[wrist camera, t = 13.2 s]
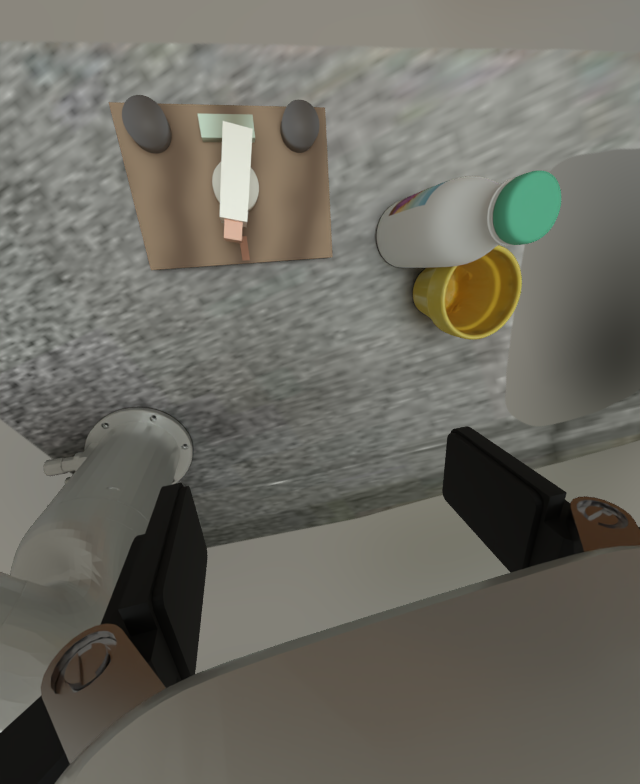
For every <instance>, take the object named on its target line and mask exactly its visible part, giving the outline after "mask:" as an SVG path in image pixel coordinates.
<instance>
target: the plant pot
mask: <svg viewBox="0 0 640 784" xmlns="http://www.w3.org/2000/svg"><path fill="white" fill-rule="evenodd" d="M521 287H522V277H521V270H520V267H519V264H518V262H517V260H516V258H515V257H514V255H513V254H512V253H511V252H510V251H509V250H508V249H506V248H504V247H502V246H500V245H498V246H496V247H495V248H494V249H492V250H491V251H490V252H489V253H487V254H486V255H484V256H483V257H481V258H479V259H477V260H475V261H473V262H470V263H468V264H464V265H459V266H451V267H431V268H426V269H424V270H423V271H422V272H421V273H420V275H419V276H418V277H417V279H416V281H415V284H414V288H413V300H414V303H415V305H416V307H417V308H418V309H419V311H421V312H422V313H424V314H425V315H427V316H428V317H430V318H431V319H432V321H433V322H434V324H435V325H436V326H437V327H438V328H439V329H440V330H442V331H444V332H446V333H448V334H450V335H453V336H456V337H460V338H464V339H481V338H484V337H487V336H489V335H491V334H493V333H495V332H496V331H498V330H499V329H500V328H501V327H502V326H503V325H504V324H505V323H506V322H507V321H508V320H509V318H510V317H511V315H512V314H513V312H514V310H515V308H516V306H517V303H518V301H519V297H520V293H521Z"/></svg>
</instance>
